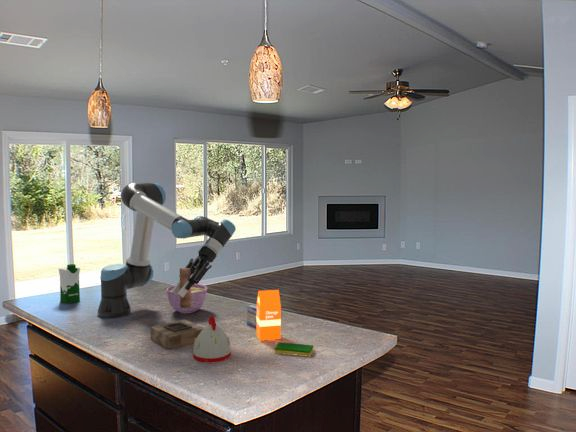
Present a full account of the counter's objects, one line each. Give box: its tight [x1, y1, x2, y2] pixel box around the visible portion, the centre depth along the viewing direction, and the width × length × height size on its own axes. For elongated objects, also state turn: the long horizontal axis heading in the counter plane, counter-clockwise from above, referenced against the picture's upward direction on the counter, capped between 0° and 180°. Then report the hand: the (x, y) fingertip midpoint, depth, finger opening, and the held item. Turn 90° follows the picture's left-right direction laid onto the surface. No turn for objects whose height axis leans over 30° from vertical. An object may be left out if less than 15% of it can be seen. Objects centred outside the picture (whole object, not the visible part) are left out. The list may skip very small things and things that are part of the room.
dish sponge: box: [274, 341, 314, 357], centre depth 182 cm, size 7×14×2 cm, turn 77°
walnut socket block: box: [150, 319, 205, 350], centre depth 194 cm, size 16×16×6 cm
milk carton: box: [58, 263, 81, 305], centre depth 250 cm, size 9×9×20 cm
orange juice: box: [256, 289, 282, 342], centre depth 197 cm, size 8×9×20 cm
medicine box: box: [246, 304, 257, 329], centre depth 213 cm, size 8×4×9 cm, turn 47°
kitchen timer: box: [192, 315, 232, 364], centre depth 176 cm, size 14×14×15 cm
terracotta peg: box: [179, 267, 191, 308], centre depth 198 cm, size 4×4×16 cm
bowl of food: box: [166, 283, 208, 315], centre depth 235 cm, size 20×20×12 cm
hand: (177, 294), depth 195 cm, fingers closed on terracotta peg, 4 cm apart
